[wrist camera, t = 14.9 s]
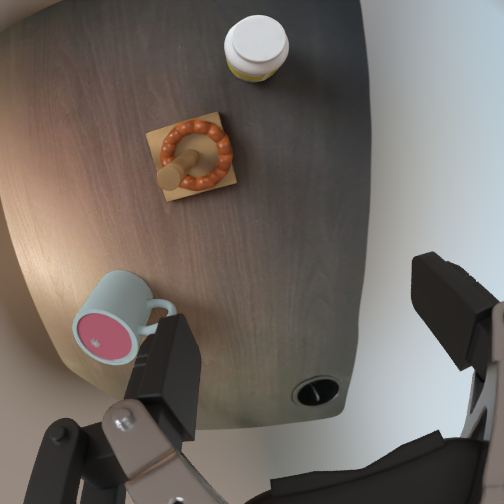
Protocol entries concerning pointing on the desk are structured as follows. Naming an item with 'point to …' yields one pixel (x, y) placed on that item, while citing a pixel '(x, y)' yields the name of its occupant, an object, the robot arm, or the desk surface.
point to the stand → (187, 159)
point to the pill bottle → (256, 48)
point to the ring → (212, 133)
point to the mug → (117, 317)
